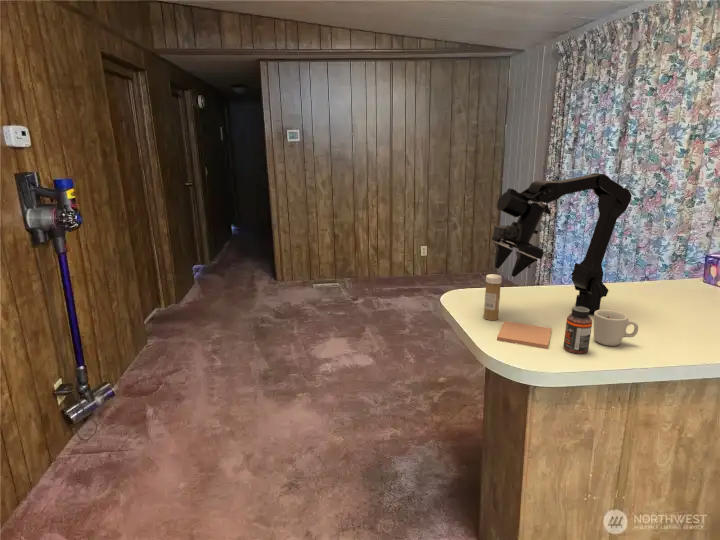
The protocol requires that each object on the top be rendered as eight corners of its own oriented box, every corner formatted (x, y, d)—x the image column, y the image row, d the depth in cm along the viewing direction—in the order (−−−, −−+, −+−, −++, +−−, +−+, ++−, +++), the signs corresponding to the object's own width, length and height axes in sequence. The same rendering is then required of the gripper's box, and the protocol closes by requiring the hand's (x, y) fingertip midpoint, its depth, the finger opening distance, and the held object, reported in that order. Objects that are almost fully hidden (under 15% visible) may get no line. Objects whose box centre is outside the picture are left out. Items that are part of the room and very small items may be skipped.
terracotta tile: (551, 331, 135) (551, 328, 135) (548, 348, 124) (548, 345, 124) (504, 324, 140) (504, 321, 140) (496, 340, 129) (497, 336, 129)
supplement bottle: (558, 345, 126) (563, 304, 123) (580, 344, 127) (585, 304, 124) (570, 355, 120) (575, 312, 117) (592, 354, 121) (598, 312, 118)
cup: (632, 340, 130) (636, 312, 128) (638, 351, 122) (643, 322, 120) (588, 334, 133) (592, 307, 131) (592, 345, 126) (596, 317, 124)
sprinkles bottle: (501, 318, 145) (505, 276, 141) (491, 321, 142) (494, 278, 139) (490, 314, 148) (493, 272, 145) (479, 317, 146) (482, 275, 142)
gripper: (488, 208, 144) (467, 256, 146) (523, 218, 126) (498, 271, 129) (517, 221, 147) (496, 267, 150) (555, 232, 130) (530, 284, 132)
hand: (504, 272), depth 140 cm, fingers open, 9 cm apart
